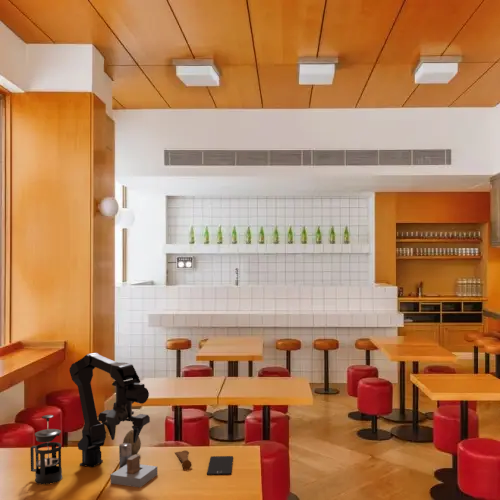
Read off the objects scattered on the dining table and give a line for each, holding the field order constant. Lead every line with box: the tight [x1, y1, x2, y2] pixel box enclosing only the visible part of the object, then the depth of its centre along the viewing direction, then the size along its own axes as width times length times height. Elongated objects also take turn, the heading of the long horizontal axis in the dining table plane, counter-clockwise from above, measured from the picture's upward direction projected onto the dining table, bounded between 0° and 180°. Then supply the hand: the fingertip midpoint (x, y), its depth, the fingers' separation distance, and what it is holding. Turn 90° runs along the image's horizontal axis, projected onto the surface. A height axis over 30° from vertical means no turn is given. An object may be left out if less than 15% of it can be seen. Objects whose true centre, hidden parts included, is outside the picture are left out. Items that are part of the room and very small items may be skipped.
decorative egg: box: [122, 429, 142, 456], centre depth 233 cm, size 7×7×10 cm
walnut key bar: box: [127, 454, 141, 474], centre depth 208 cm, size 2×5×8 cm, turn 159°
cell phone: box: [206, 455, 234, 476], centre depth 219 cm, size 9×18×1 cm, turn 179°
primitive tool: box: [174, 450, 192, 470], centre depth 226 cm, size 19×6×4 cm, turn 16°
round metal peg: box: [118, 442, 133, 469], centre depth 221 cm, size 4×4×8 cm
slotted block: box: [110, 463, 158, 488], centre depth 208 cm, size 12×12×3 cm
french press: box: [29, 414, 63, 485], centre depth 209 cm, size 12×9×23 cm
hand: (123, 441), depth 212 cm, fingers open, 9 cm apart
